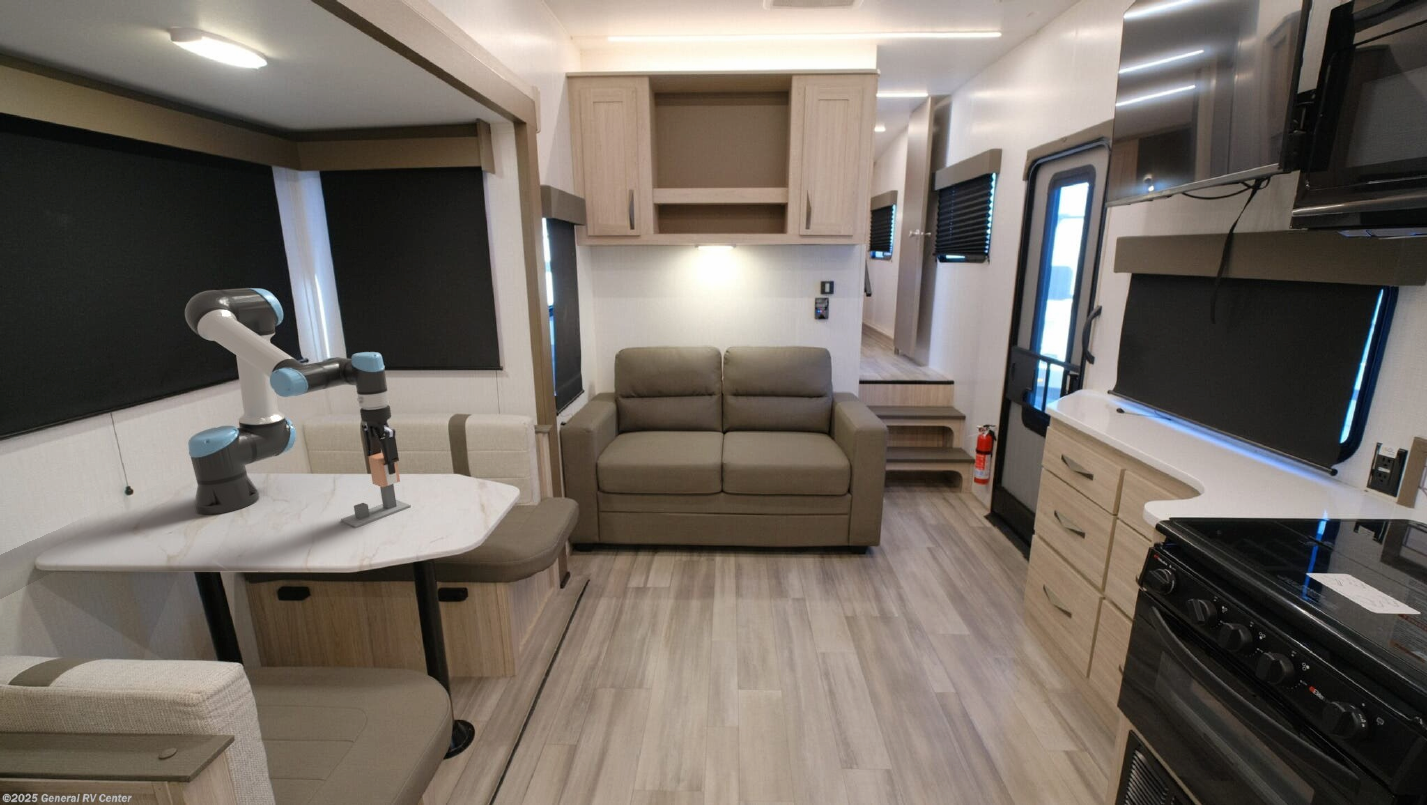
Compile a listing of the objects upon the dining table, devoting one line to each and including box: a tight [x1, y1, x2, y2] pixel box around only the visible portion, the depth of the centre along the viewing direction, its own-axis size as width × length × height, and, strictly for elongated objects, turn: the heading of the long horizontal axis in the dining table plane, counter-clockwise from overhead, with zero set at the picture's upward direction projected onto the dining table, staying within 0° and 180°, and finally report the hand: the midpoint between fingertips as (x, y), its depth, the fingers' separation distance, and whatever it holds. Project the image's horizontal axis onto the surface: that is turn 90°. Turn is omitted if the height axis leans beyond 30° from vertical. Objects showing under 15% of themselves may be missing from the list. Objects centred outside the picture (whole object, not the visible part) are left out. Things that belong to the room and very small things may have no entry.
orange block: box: [367, 452, 401, 488], centre depth 168 cm, size 5×5×9 cm
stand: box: [340, 483, 412, 528], centre depth 167 cm, size 8×16×9 cm, turn 149°
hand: (386, 481), depth 169 cm, fingers closed on orange block, 5 cm apart
